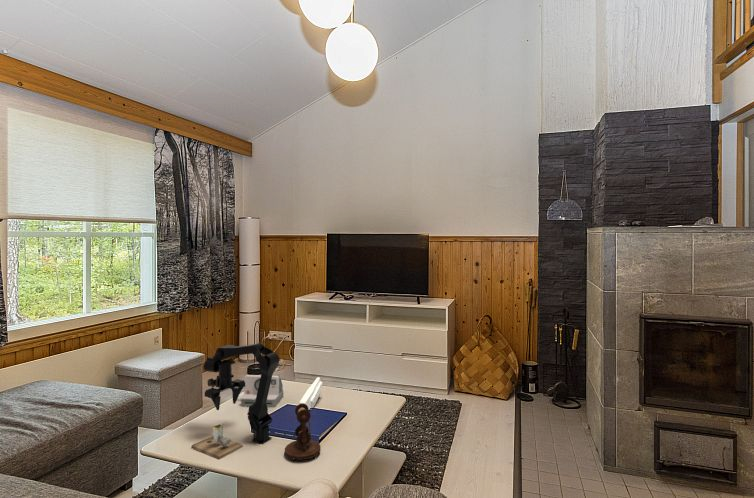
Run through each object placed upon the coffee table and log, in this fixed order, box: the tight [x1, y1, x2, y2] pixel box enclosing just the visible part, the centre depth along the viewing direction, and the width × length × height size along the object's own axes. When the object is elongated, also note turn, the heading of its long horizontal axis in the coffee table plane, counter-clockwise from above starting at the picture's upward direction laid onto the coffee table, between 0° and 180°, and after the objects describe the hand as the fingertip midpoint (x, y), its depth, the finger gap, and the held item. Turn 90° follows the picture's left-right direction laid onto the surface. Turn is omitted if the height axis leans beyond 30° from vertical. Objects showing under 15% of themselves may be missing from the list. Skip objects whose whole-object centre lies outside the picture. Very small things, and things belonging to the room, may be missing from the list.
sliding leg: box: [212, 424, 224, 445], centre depth 182 cm, size 3×3×8 cm
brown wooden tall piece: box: [284, 403, 321, 462], centre depth 177 cm, size 15×15×20 cm
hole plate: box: [190, 434, 244, 460], centre depth 182 cm, size 18×12×5 cm, turn 59°
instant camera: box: [240, 374, 284, 409], centre depth 236 cm, size 21×21×15 cm
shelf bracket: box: [299, 376, 324, 410], centre depth 229 cm, size 6×25×13 cm, turn 168°
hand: (226, 406), depth 197 cm, fingers open, 9 cm apart
